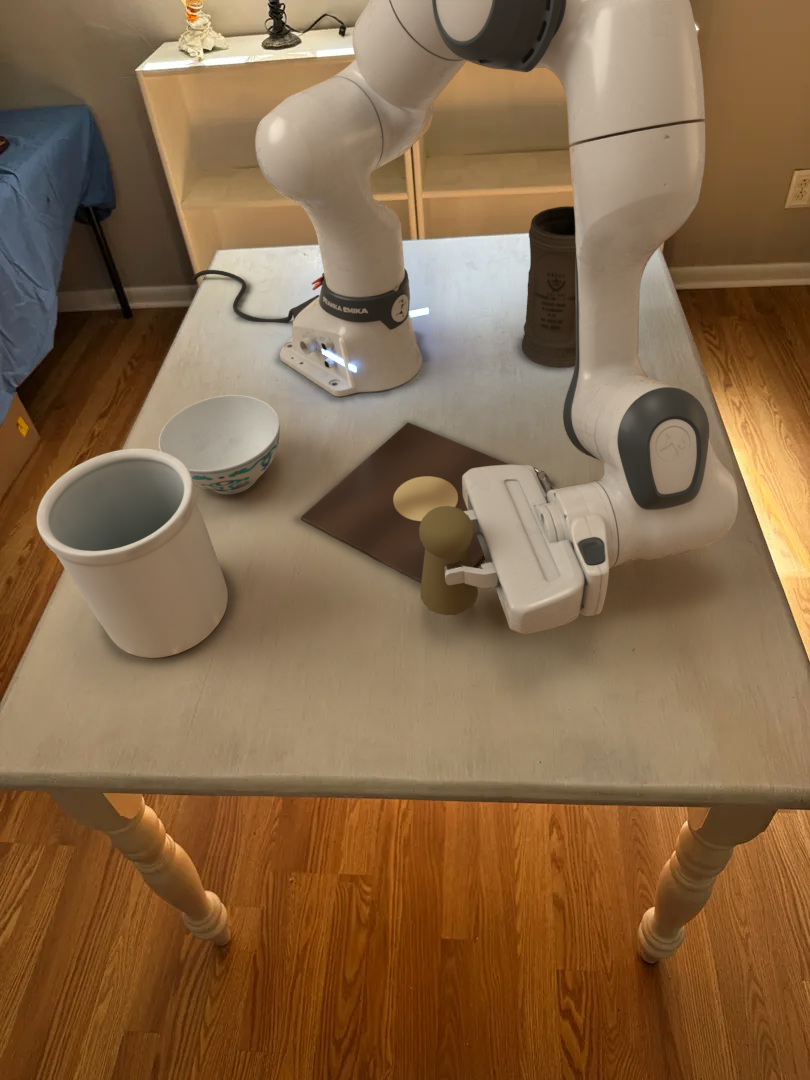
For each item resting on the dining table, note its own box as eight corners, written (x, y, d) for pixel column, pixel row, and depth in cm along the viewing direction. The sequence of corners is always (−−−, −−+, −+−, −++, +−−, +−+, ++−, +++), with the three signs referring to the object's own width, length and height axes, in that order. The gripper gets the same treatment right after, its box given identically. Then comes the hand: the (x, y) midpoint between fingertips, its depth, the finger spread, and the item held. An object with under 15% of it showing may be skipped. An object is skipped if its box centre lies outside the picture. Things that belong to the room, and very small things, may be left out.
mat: (301, 520, 96) (300, 516, 96) (408, 424, 108) (407, 421, 107) (447, 597, 86) (447, 593, 86) (548, 483, 98) (549, 479, 97)
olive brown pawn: (438, 624, 79) (433, 551, 71) (410, 584, 83) (402, 511, 75) (489, 600, 81) (489, 526, 73) (459, 562, 85) (457, 488, 77)
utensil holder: (208, 672, 82) (157, 560, 69) (77, 658, 84) (6, 547, 71) (250, 566, 92) (213, 451, 79) (132, 556, 94) (78, 443, 81)
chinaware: (305, 445, 106) (295, 399, 101) (267, 523, 96) (254, 476, 91) (203, 436, 109) (188, 390, 104) (156, 510, 99) (137, 464, 94)
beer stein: (592, 372, 113) (609, 234, 99) (517, 368, 115) (524, 232, 101) (595, 322, 124) (611, 191, 110) (527, 319, 126) (534, 190, 112)
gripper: (543, 441, 83) (416, 464, 82) (614, 584, 69) (462, 614, 68) (539, 485, 88) (419, 507, 87) (606, 627, 74) (463, 656, 73)
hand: (438, 555), depth 77 cm, fingers closed on olive brown pawn, 4 cm apart
